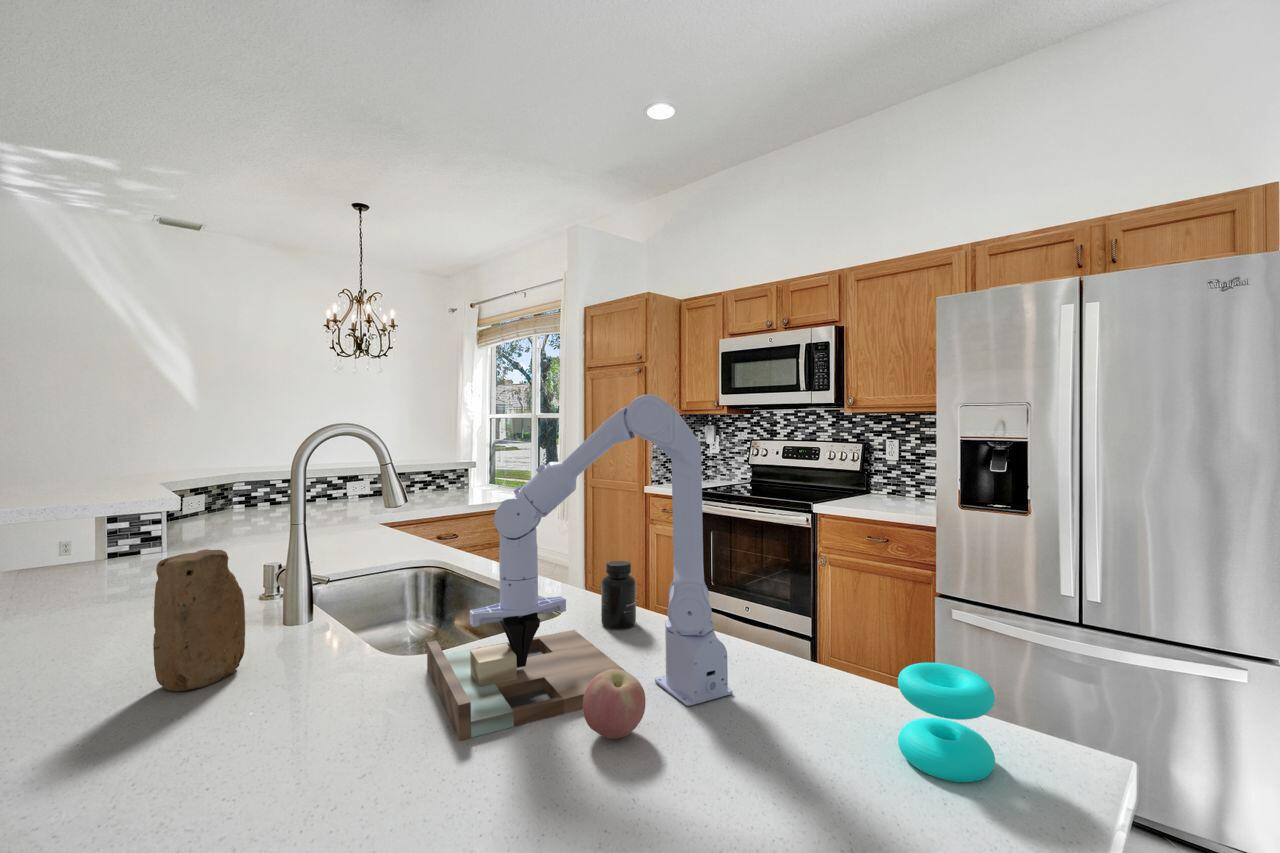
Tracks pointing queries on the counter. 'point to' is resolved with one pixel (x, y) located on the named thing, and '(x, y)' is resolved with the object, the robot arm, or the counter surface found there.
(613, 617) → the supplement bottle
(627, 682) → the apple
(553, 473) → the robot arm
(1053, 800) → the counter surface
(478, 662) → the beech block
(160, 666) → the block
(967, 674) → the donuts
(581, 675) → the board
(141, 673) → the counter surface
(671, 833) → the counter surface
